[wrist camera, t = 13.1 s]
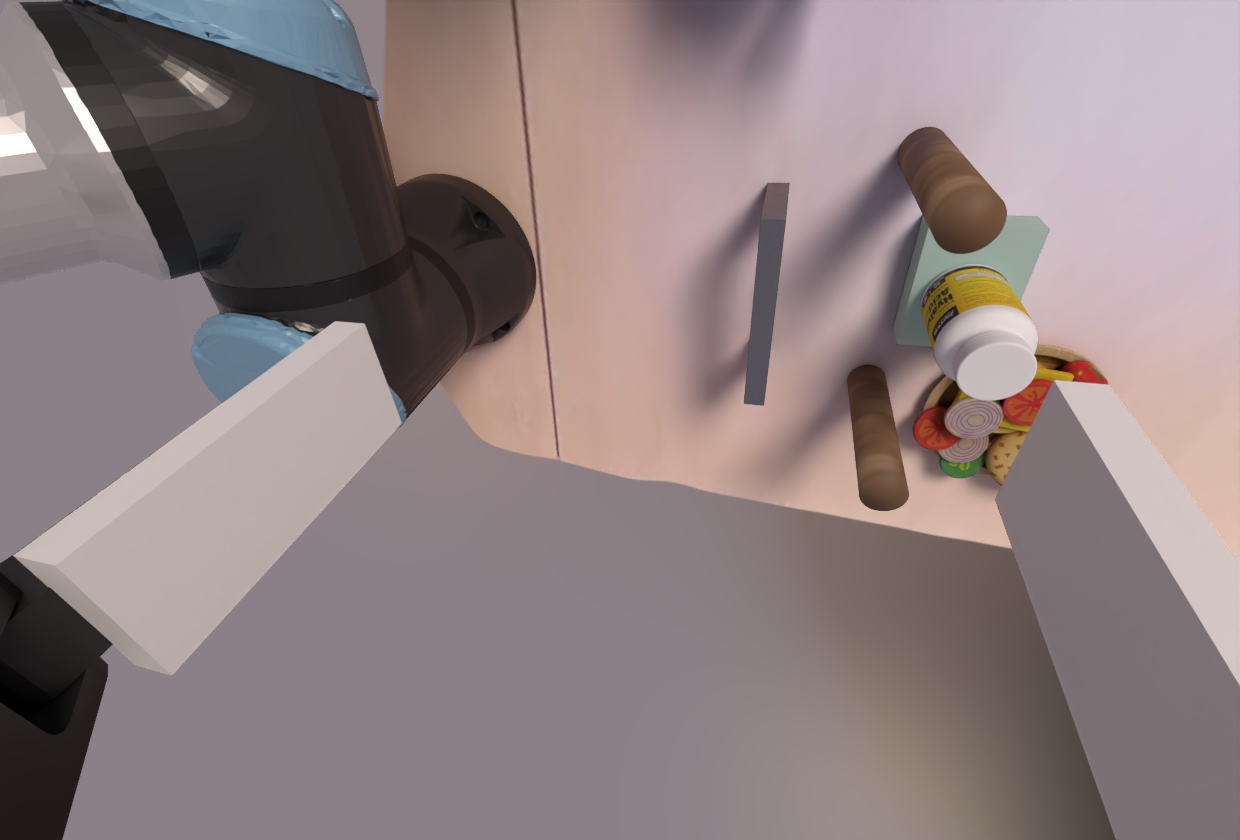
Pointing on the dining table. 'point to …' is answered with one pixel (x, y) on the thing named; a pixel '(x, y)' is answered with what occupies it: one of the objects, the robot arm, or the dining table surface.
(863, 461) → the post far
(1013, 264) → the stand
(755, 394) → the rail hurdle
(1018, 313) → the supplement bottle
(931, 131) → the post near
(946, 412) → the toy food set
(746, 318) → the dining table surface
